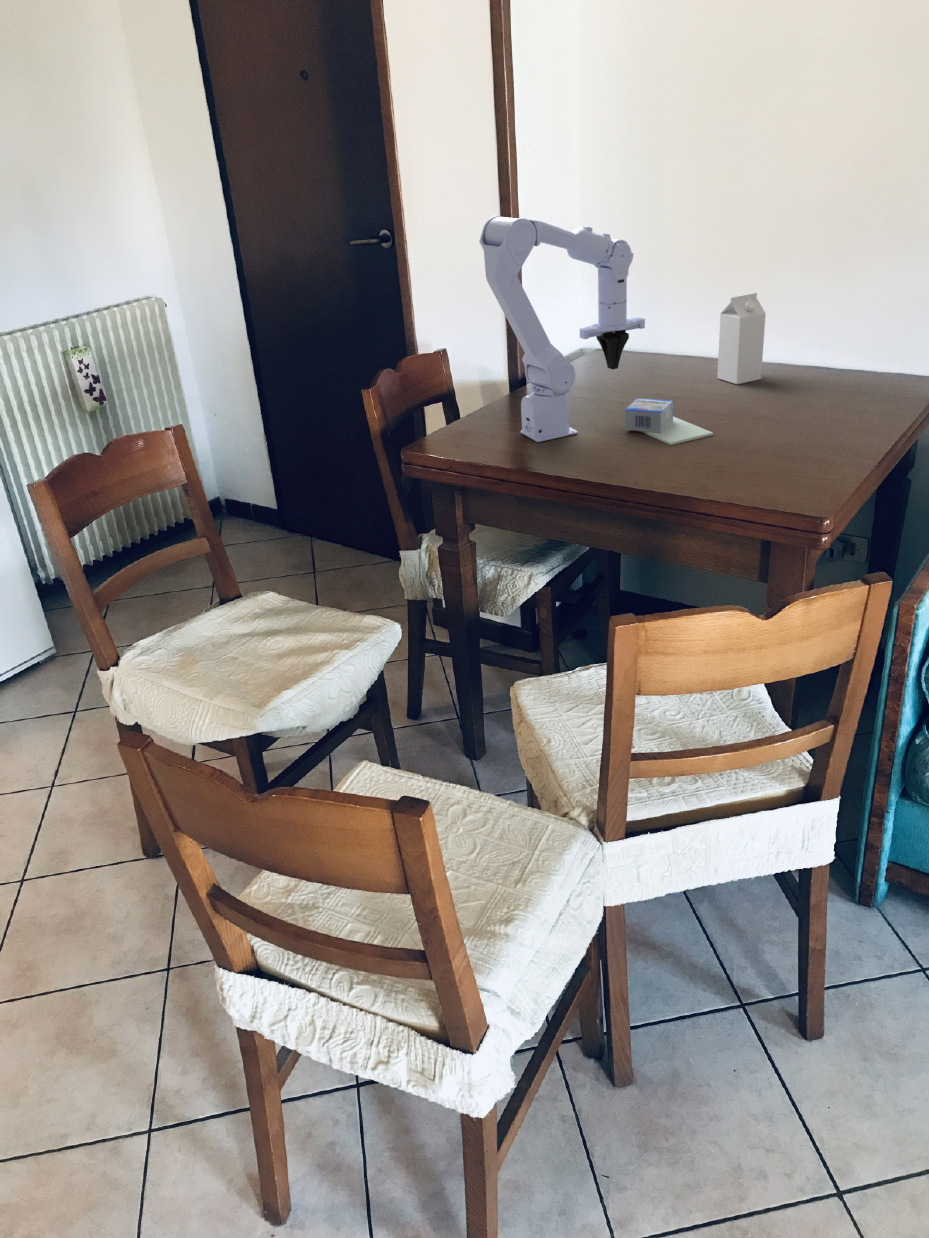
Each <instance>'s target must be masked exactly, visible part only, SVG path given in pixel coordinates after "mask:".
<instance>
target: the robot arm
mask: <svg viewBox="0 0 929 1238" xmlns="http://www.w3.org/2000/svg"><path fill="white" fill-rule="evenodd" d="M478 242H479V244H480V246H481V247H482V248H481V249H482V250H483V254H484V255H483V257H484V269H485V278H486V281H487V284H488V286H489V288H490V290H491V291H492V293H493V295H494V297H495V299H496V300H497V303H498V305H499V306H500V308H501V310H502V312H503V314H504V316H505V318H506V321H508V323H509V325H510V327H511V329H512V332H513V333H514V336H515V337H516V339H517V341H518V342H519V344H520V347H521V349H522V350H523V352H524V355H523V357H522V359H521V362H522V363H523V366H524V373H525V378H526V380H527V382H528V383H530V385H531V390H532V392H531V393H530V394H528V395H526V396H525V395H524V396H523V397H522V399H521V402H520V413H521V414H520V415H521V430H520V433H521V434H523V435H524V436H526V437H528V438H530V439H531V440H533V441H534V442H537V443H540V442H544V441H548V440H549V441H550V440H554V439H558V438H562V437H566V436H571V435H575V434H576V435H577V434H578V430H576V429H575V428H572V427H571V426H570V410H569V409H570V408H569V407H570V406H569V404H570V403H569V393H570V390H571V388H572V387H573V385H574V383H575V379H576V370H575V367H574V365H573V364H572V363H571V362H570V361H568V360H566V358H565V356H564V354H563V353H562V352H561V351H559V349H557V348H556V347H555V346H554V345H553V344H552V343H551V341H550V340H549V339H550V338H549V337H548V335H547V333H546V331H545V329H544V327H543V325H542V323H541V321H540V319H539V317H538V315H537V313H536V311H535V309H534V307H533V305H532V303H531V301H530V299H529V297H528V295H527V293H526V291H525V289H524V287H523V284H522V283H521V281H520V279H519V276H518V274H519V272H520V270H521V269H522V267H523V265H524V264H525V262H526V260H527V259H528V257H529V256H530V254H531V252H532V251H533V250H534V247H539V246H540V245H541V244H546V245H549V246H554V247H556V248H561V249H564V250H566V252H567V254H568V256H569V257H570V258H571V259H573V260H576V261H579V262H583V263H587V264H590V265H593V266H594V267H595V268H597V295H598V296H597V301H598V306H597V307H598V311H597V312H598V322H597V323H594V324H591V325H588V326H585V327H581V328H580V327H579V338H580V339H581V340H589V338H594V337H596V340H597V341H598V343H599V345H600V348H601V350H602V352H603V355H604V358H605V361H606V366H607V368H608V369H609V370H616V369H619V364H620V362H621V360H620V359H621V357H622V353H623V351H624V348H625V346H626V344H627V342H628V341H629V338H630V333H629V332H626V331H632V330H636V329H638V330H639V329H641V330H642V329H645V328H646V319H645V318H643V317H634V318H633V317H632V318H627V315H628V314H627V309H628V308H627V305H628V304H627V298H628V295H627V294H628V293H627V286H628V284H627V283H628V282H627V281H628V276H629V270H630V266H631V265H632V263H633V259H634V252H632V248H631V247H630V244H629V243H628V242H627V241H626V240H624V239H617V238H611V234H609V233H602V234H600V233H597V232H595V231H593V227H590V226H588V225H587V226H586V225H585V226H583V227H577V228H576V229H574V230H573V231H569V230H568V229H567V230H566V229H564V228H561V227H559V226H555V225H553V224H551V223H548V222H545V221H543V220H537V219H530V218H529V219H528V218H526V217H520V218H516V217H515V218H514V217H506V216H501V215H493V216H491V217H490V218H489V219H488V220H487V221H485V223H484V225H483V227H482V232H481V235H480V238H479V241H478Z"/></svg>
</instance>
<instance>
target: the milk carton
mask: <svg viewBox="0 0 929 1238" xmlns="http://www.w3.org/2000/svg"><path fill="white" fill-rule="evenodd" d="M757 294H758V292H755V293H754V292H753V293H749V294H748V293H747V294H742V295H738V296H731V297H730V302H729V304H727V306H726V307H725V308H724V309H723V310H722V312H720V313H719V314H720V316H719V332H718V333H719V334H718V335H719V337H718V338H719V339H718V353H717V354H718V357H717V358H718V361H717V374H716V375H717V378H716V379H718V380H722V381H726V382H728V383H732V384H735V385H740V384H745V383H749V382H753V381H758V380H761V379H762V373H763V371H762V370H763V359H764V358H763V355H764V342H765V330H766V329H765V327H766V311H765V310H764V307H762V305H761V303H760V301H759V299H758V298H757V296H758V295H757Z"/></svg>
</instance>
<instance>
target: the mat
mask: <svg viewBox="0 0 929 1238" xmlns="http://www.w3.org/2000/svg"><path fill="white" fill-rule="evenodd" d="M640 432H641V433H643V434H645V435H647V436H649V437H651V438H654V439H655V440H658V441H661V442H663V443H665V444H668V445H669V446H672V445H677V444H681V443H686V442H690V441H694V440H699V439H702V438H707V437H710V436H714V433H713V432H712V431H710V430H707V429H705V428H703V427H700V426H698V425H696V424H693V423H690V422H688V421H686V420H683V419H681V418H678V417H675V416H674V415H673V421H672V422H671V423H670V424H669V425H668V426H667V427H666V428H665V429H664V430H663V431H662V432H661V433H657V432H645V431H640Z"/></svg>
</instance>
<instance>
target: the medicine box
mask: <svg viewBox="0 0 929 1238" xmlns="http://www.w3.org/2000/svg"><path fill="white" fill-rule="evenodd" d="M623 415H624V416H623V419H624V422H623V423H624V425H623V426H624V427H623V428H624V429H623V430H624V431H634V432H641V431H645V432H657V433H661V432H662V431H663V430H664V429H665V428H666V427H667V426H668V425H669V424H670V423H671V422H672V421H673V416H674V400H672V399H670V400H669V399H655V398H654V399H652V398H638V397H637V398H636V399H635V400H634V401H633V402H632V403H630V404H629V405H628V406H627V407H626V408H625V409H624V413H623Z"/></svg>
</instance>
